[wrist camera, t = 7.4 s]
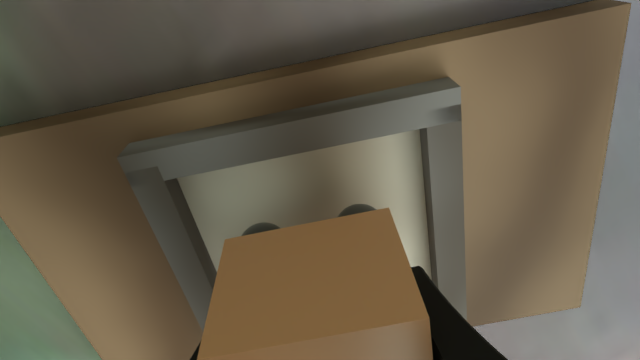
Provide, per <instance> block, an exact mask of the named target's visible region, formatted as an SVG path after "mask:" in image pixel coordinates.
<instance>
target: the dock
mask: <svg viewBox="0 0 640 360" xmlns="http://www.w3.org/2000/svg"><path fill="white" fill-rule="evenodd" d="M630 8H631V3H627V2H621V1H615V0H594V1H589V2H584V3H580V4H575V5H570V6H566V7H561V8H556V9H552V10H547V11H542V12H537V13H533V14H528V15H523V16H519V17H514V18H509V19H505V20H500V21H495V22H491V23H486V24H481V25H476V26H472V27H467V28H462V29H458V30H453V31H448V32H444V33H439V34H434V35H430V36H425V37H420V38H415V39H411V40H406V41H401V42H397V43H392V44H387V45H383V46H378V47H373V48H369V49H364V50H359V51H355V52H350V53H345V54H340V55H336V56H331V57H326V58H322V59H317V60H312V61H308V62H303V63H298V64H294V65H289V66H284V67H279V68H275V69H270V70H265V71H261V72H256V73H251V74H247V75H242V76H237V77H233V78H228V79H223V80H218V81H214V82H209V83H204V84H200V85H195V86H190V87H186V88H181V89H176V90H172V91H167V92H162V93H158V94H153V95H148V96H143V97H139V98H134V99H129V100H125V101H120V102H115V103H111V104H106V105H101V106H97V107H92V108H87V109H82V110H78V111H73V112H68V113H64V114H59V115H54V116H50V117H45V118H40V119H36V120H31V121H26V122H21V123H17V124H12V125H7V126H3V127H0V217H1V218H2V219H3V221H4V222H5V224H6V225H7V226H8V228H9V229H10V231H11V232H12V233H13V235H14V236H15V238H16V239H17V240H18V242H19V243H20V245H21V246H22V247H23V249H24V250H25V252H26V253H27V255H28V256H29V257H30V259H31V260H32V262H33V263H34V264H35V266H36V267H37V269H38V270H39V271H40V273H41V274H42V276H43V277H44V278H45V280H46V281H47V283H48V284H49V285H50V287H51V288H52V290H53V291H54V292H55V294H56V295H57V297H58V298H59V300H60V301H61V302H62V304H63V305H64V307H65V308H66V309H67V311H68V312H69V314H70V315H71V316H72V318H73V319H74V321H75V322H76V323H77V325H78V326H79V328H80V329H81V330H82V332H83V333H84V335H85V336H86V338H87V339H88V340H89V342H90V343H91V345H92V346H93V347H94V349H95V350H96V352H97V353H98V354H99V356H100V357H101V359H102V360H190V358H191V357H192V355H193V353H194V352H195V350H196V348H197V346H198V345H199V343H200V341H201V340H202V335H203V331H204V327H205V322H206V318H207V314H208V310H209V305H210V301H211V297H212V292H213V288H214V284H215V279H216V275H217V271H218V267H219V262H220V258H221V254H222V249H223V245H224V241H225V239H229V238H234V237H239V236H241V235H242V234H243V233H244V231H245V230H246V229H247V228H249V227H250V226H252V225H254V224H257V223H262V222H267V223H272V224H275V225H277V226H279V227H280V228H286V227H291V226H296V225H301V224H306V223H311V222H317V221H322V220H327V219H332V218H337V217H338V215H339V214H340V213H341V211H342V210H344V209H345V208H346V207H348V206H351V205H354V204H367V205H370V206H372V207H374V208H375V209H377V210H378V209H383V208H388V207H389V209H390V212H391V215H392V217H393V220H394V223H395V225H396V228H397V231H398V234H399V236H400V239H401V242H402V245H403V247H404V250H405V253H406V255H407V258H408V261H409V264H410V266H411V267H415V266H420V267H422V268H423V269H424V271H425V272H426V273H427V275H428V276H429V278H430V279H431V280H432V282H433V283H434V284H435V286H436V287H437V288H438V289H439V291H440V292H441V293H442V294H443V295H444V297H445V298H446V299H447V300H448V301H449V302H450V303H451V305H452V306H453V307H454V308H455V309H456V310H457V311H458V312H459V313H460V314H461V315H462V317H463V318H464V319H465V320H466V321H467V322H468V323H469V324H470V325H471V326H478V325H483V324H489V323H494V322H500V321H506V320H511V319H517V318H522V317H528V316H534V315H539V314H545V313H550V312H556V311H562V310H567V309H573V308H578V307H580V306H581V300H582V294H583V288H584V282H585V276H586V270H587V264H588V258H589V252H590V246H591V240H592V234H593V228H594V222H595V216H596V210H597V204H598V199H599V193H600V187H601V181H602V175H603V169H604V163H605V157H606V151H607V145H608V139H609V133H610V127H611V121H612V115H613V109H614V103H615V97H616V91H617V85H618V79H619V73H620V67H621V61H622V55H623V49H624V43H625V37H626V31H627V25H628V19H629V14H630Z"/></svg>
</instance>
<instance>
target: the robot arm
mask: <svg viewBox="0 0 640 360" xmlns="http://www.w3.org/2000/svg"><path fill="white" fill-rule="evenodd" d="M411 269H412V272H413V275H414V277H415V280H416V283H417V286H418V288H419V291H420V294H421V296H422V299H423V302H424V305H425V307H426V310H427V313H428V316H429V319H430V330H431V341H432V352H433V360H508V359H506V358H505V357H504V356H503V355H502V354H501V353H500V352H498V351H497V350H496V349H495V348H494V347H493V346H492V345H491V344H490V343H489V342H487V341H486V340H485V339H484V338H483V337H482V336H481V335H480V334H479V333H478V332H477V331H476V330H475V329H474V328H473V327H472V326H471V325H470V324H469V323H468V322H467V321H466V320H465V319H464V318H463V317H462V315H461V314H460V313H459V312H458V311H457V310H456V309H455V308H454V307H453V306H452V305H451V303H450V302H449V301H448V300H447V299H446V298H445V297H444V295H443V294H442V293H441V292H440V291H439V289H438V288H437V287H436V286H435V284H434V283H433V282H432V280H431V279H430V278H429V276H428V275H427V273H426V272H425V271H424V269H423V268H422V267H420V266H415V267H411ZM200 344H201V341H200V343H199V345H198V346H197V348H196V350H195V352H194V353H193V355H192V357H191V358H190V360H197V357H198V352H199V348H200Z"/></svg>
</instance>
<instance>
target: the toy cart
mask: <svg viewBox="0 0 640 360" xmlns="http://www.w3.org/2000/svg"><path fill="white" fill-rule="evenodd" d="M197 360H433V352H432V341H431V330H430V319H429V316H428V313H427V310H426V307H425V305H424V302H423V299H422V296H421V294H420V291H419V288H418V286H417V283H416V280H415V277H414V275H413V272H412V269H411V266H410V264H409V261H408V258H407V255H406V253H405V250H404V247H403V245H402V242H401V239H400V236H399V234H398V231H397V228H396V225H395V223H394V220H393V217H392V215H391V212H390V209H389V207H388V208H383V209H378V210H377V209H375V208H374V207H372V206H370V205H367V204H354V205H351V206H348V207H346V208H345V209H344V210H342V211H341V213H340V214H339V215H338V217H337V218H332V219H327V220H322V221H317V222H311V223H306V224H301V225H296V226H291V227H286V228H280V227H279V226H277V225H275V224H272V223H267V222H262V223H257V224H254V225H252V226H250V227H249V228H247V229H246V230H245V231H244V233H243V234H242V235H241V236H239V237H234V238H229V239H225V241H224V245H223V249H222V254H221V258H220V262H219V267H218V271H217V275H216V279H215V284H214V288H213V292H212V297H211V301H210V305H209V310H208V314H207V318H206V322H205V327H204V331H203V335H202V340H201V344H200V348H199V352H198V357H197Z"/></svg>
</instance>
